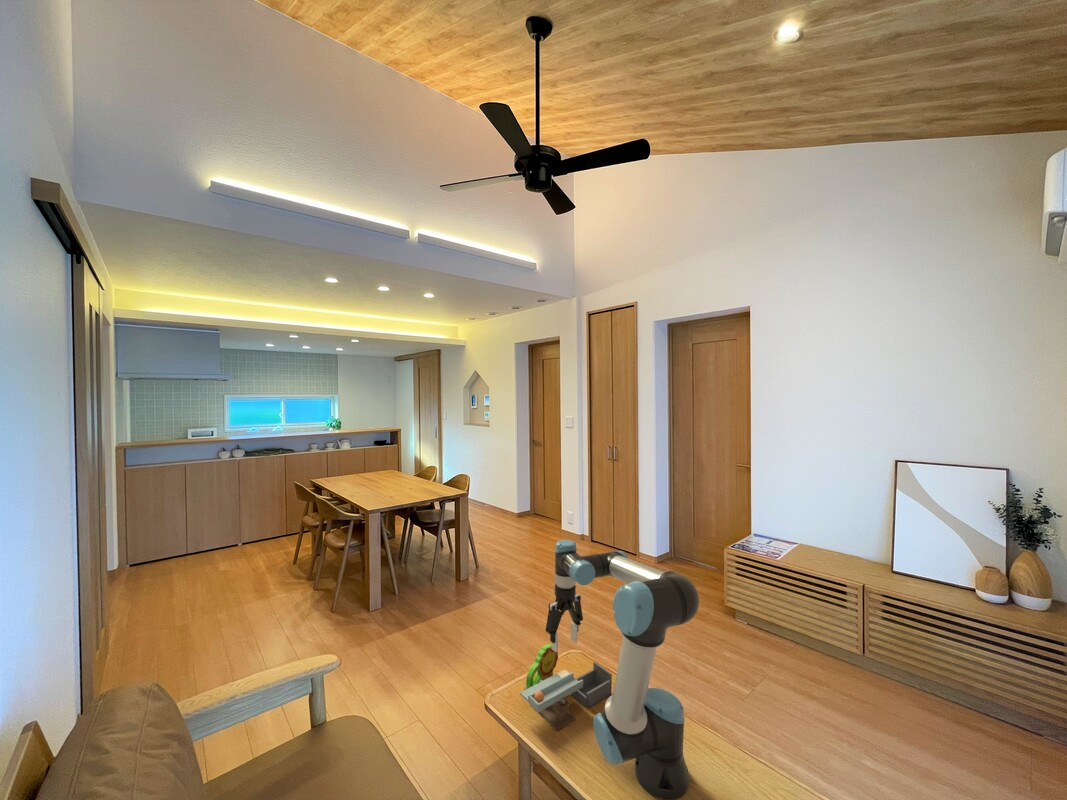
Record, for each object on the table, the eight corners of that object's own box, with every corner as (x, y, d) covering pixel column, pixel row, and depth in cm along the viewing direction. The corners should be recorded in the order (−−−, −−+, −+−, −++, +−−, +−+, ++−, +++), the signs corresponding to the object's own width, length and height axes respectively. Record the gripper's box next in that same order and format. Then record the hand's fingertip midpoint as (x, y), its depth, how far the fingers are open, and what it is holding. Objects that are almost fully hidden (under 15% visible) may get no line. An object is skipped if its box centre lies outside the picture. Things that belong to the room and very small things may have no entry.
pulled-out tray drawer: (611, 694, 160) (611, 673, 159) (587, 709, 152) (587, 687, 152) (594, 682, 167) (594, 661, 166) (571, 695, 159) (571, 674, 159)
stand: (575, 720, 147) (575, 701, 147) (557, 731, 143) (557, 712, 142) (547, 695, 159) (547, 677, 159) (529, 704, 154) (529, 686, 154)
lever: (585, 691, 152) (586, 682, 152) (541, 717, 139) (541, 707, 139) (561, 671, 162) (561, 663, 162) (517, 694, 150) (517, 685, 150)
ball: (545, 702, 144) (546, 692, 144) (538, 706, 142) (538, 697, 142) (539, 696, 147) (540, 687, 146) (532, 700, 145) (532, 691, 145)
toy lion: (533, 702, 155) (533, 661, 155) (522, 695, 159) (522, 654, 159) (561, 680, 167) (561, 642, 167) (550, 674, 171) (551, 636, 170)
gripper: (579, 573, 166) (578, 631, 167) (535, 588, 153) (534, 651, 154) (593, 580, 160) (592, 640, 161) (548, 596, 147) (548, 662, 148)
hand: (564, 645), depth 157 cm, fingers open, 9 cm apart
